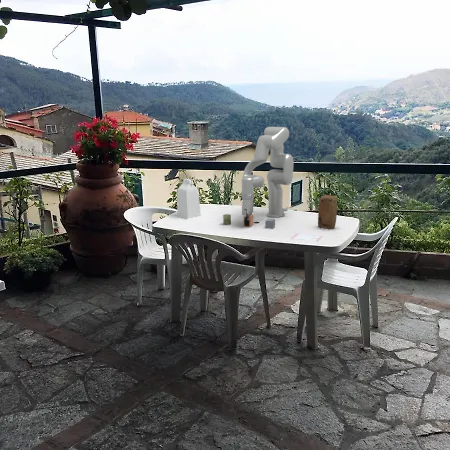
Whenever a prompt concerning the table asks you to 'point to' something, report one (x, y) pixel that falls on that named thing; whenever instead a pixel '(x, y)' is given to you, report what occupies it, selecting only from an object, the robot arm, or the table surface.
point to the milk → (188, 200)
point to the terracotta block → (249, 220)
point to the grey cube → (270, 223)
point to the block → (327, 211)
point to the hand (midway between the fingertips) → (248, 224)
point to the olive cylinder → (227, 219)
